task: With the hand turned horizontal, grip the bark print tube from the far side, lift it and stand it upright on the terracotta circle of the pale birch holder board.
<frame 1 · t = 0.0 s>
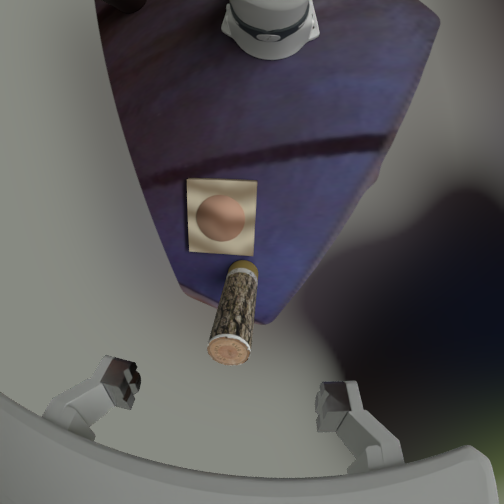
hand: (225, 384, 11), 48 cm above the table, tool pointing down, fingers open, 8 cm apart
bottle: (134, 2, 37), on the table
holder board: (221, 216, 58), on the table
bark print tube: (243, 271, 64), on the table
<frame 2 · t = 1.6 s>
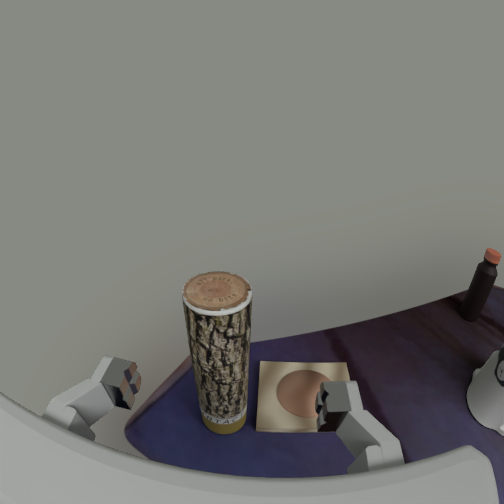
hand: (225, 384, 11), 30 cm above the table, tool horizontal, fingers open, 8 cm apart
bottle: (467, 315, 60), on the table
holder board: (305, 397, 42), on the table
bark print tube: (224, 418, 38), on the table
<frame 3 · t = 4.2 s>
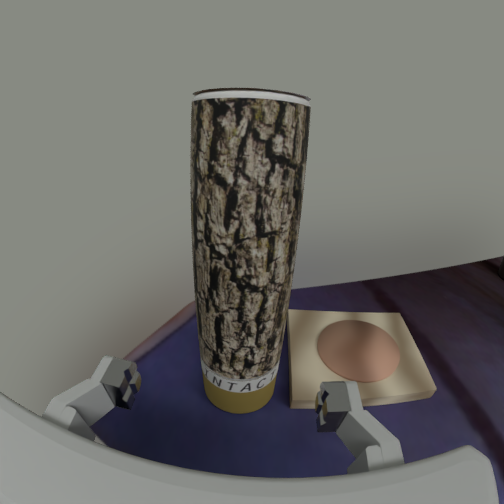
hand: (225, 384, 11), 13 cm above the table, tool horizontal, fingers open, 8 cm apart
holder board: (355, 358, 29), on the table
bark print tube: (239, 390, 25), on the table
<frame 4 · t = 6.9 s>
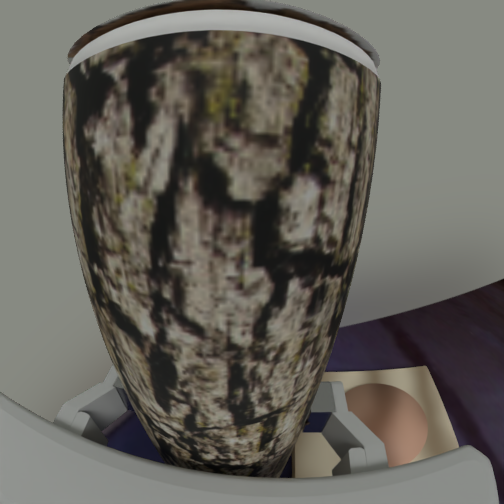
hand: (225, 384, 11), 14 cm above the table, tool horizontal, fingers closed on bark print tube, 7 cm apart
holder board: (374, 432, 20), on the table
bark print tube: (228, 483, 16), on the table, touching gripper
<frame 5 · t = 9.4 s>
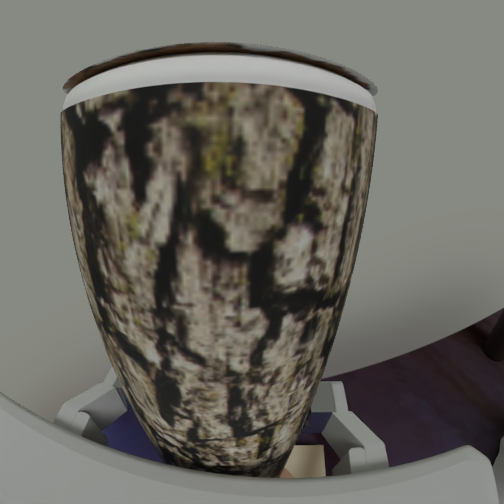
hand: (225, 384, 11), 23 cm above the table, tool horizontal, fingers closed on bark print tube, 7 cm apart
bottle: (493, 352, 39), on the table
holder board: (251, 497, 21), on the table
bark print tube: (228, 485, 16), point 9 cm above the table, touching gripper
when the fingers open (16 cm above the table, at t = 12.1 s): bark print tube stays where it is, resting on holder board.
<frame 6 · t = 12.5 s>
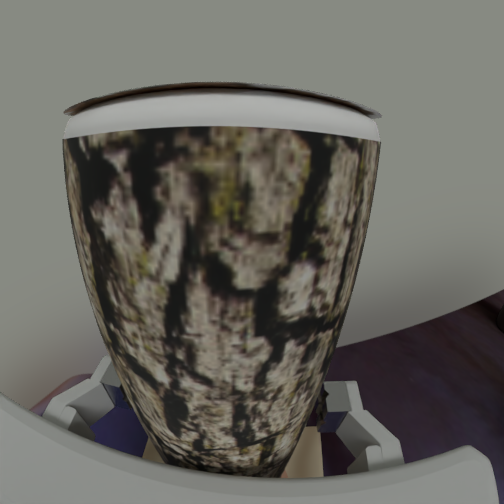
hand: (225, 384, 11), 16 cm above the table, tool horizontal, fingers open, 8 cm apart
holder board: (229, 490, 17), on the table
bark print tube: (229, 487, 17), point 2 cm above the table, touching holder board
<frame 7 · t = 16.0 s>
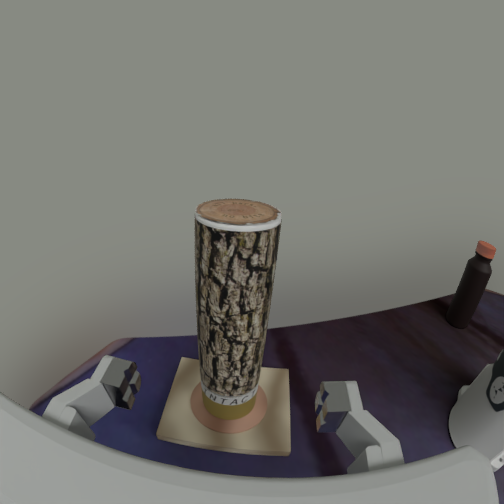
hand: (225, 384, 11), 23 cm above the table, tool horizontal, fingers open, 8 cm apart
bottle: (455, 321, 52), on the table
holder board: (228, 407, 33), on the table
bark print tube: (228, 402, 32), point 2 cm above the table, touching holder board
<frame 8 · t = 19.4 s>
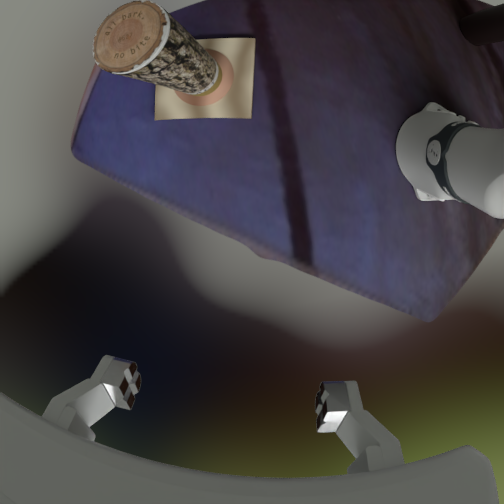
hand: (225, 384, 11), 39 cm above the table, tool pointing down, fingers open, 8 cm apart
bottle: (470, 31, 27), on the table
holder board: (204, 78, 39), on the table
bark print tube: (202, 77, 37), point 2 cm above the table, touching holder board
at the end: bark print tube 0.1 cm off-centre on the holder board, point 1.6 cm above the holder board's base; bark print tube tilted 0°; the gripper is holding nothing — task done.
